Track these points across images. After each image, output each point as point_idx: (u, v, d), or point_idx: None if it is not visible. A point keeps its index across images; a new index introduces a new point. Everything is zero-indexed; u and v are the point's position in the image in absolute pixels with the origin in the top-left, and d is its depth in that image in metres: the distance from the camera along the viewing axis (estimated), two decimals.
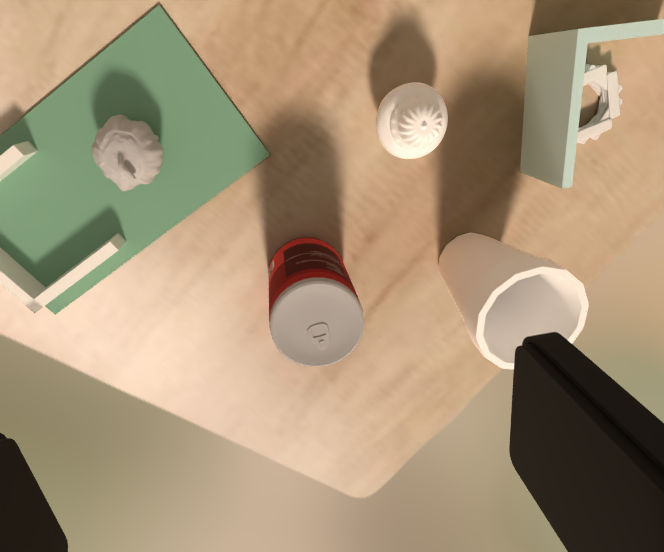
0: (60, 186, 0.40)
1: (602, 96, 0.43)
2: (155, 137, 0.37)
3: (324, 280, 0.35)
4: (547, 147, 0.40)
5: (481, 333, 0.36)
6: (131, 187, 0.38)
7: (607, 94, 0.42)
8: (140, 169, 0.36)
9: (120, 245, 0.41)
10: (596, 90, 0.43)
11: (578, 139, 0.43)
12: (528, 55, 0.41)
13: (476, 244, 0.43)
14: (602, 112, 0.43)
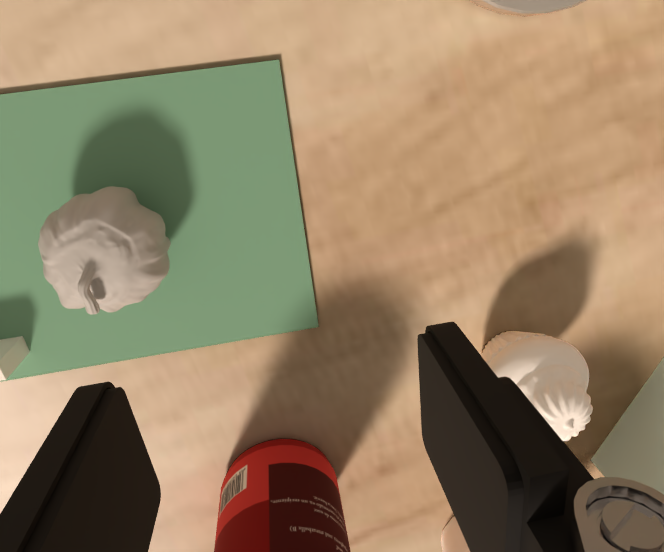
0: None
1: None
2: (166, 249, 0.21)
3: None
4: (659, 475, 0.29)
5: None
6: (82, 307, 0.21)
7: None
8: (114, 297, 0.20)
9: (14, 366, 0.23)
10: None
11: None
12: None
13: None
14: None
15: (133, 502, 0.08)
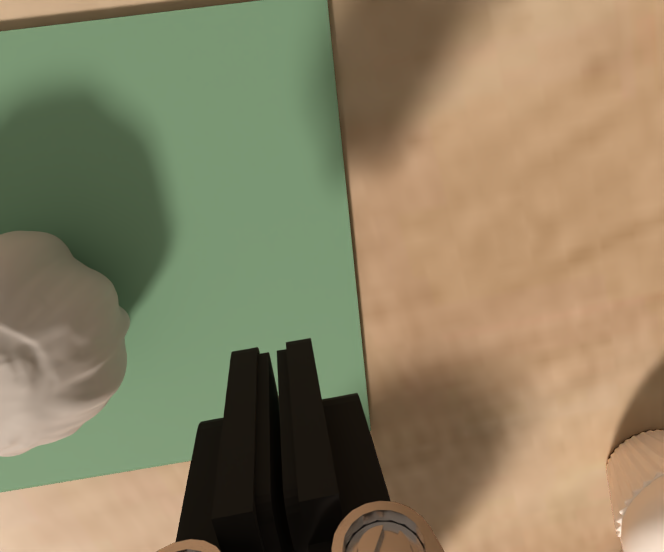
0: None
1: None
2: (118, 342, 0.12)
3: None
4: None
5: None
6: None
7: None
8: (14, 444, 0.10)
9: None
10: None
11: None
12: None
13: None
14: None
15: None
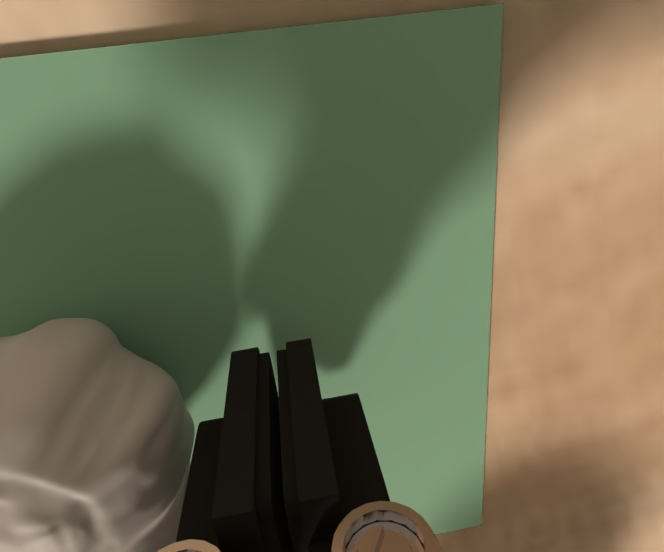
0: None
1: None
2: (187, 464, 0.09)
3: None
4: None
5: None
6: None
7: None
8: None
9: None
10: None
11: None
12: None
13: None
14: None
15: None
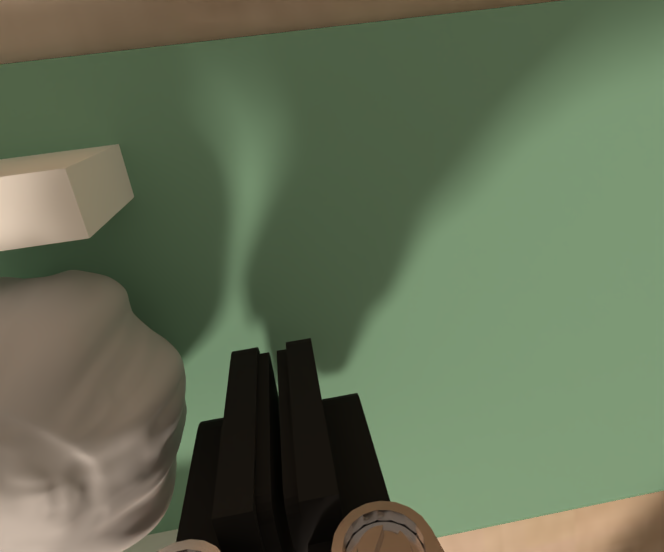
0: None
1: None
2: (179, 444, 0.08)
3: None
4: None
5: None
6: None
7: None
8: None
9: None
10: None
11: None
12: None
13: None
14: None
15: None
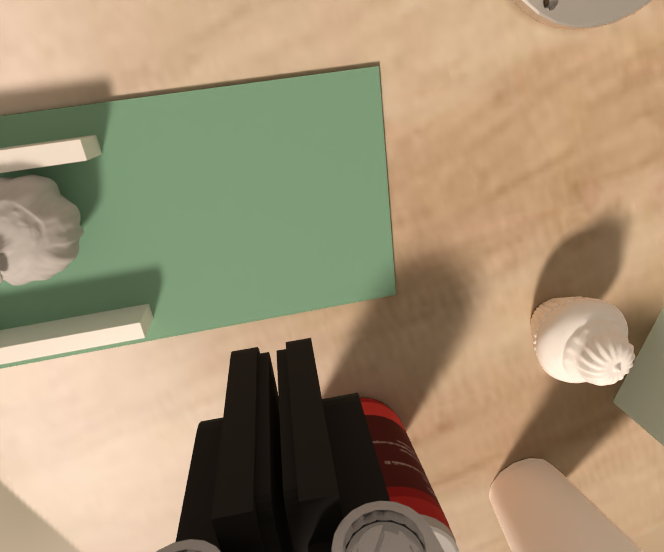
0: (104, 212, 0.26)
1: None
2: (77, 237, 0.24)
3: (438, 527, 0.24)
4: None
5: None
6: None
7: None
8: (19, 271, 0.22)
9: (147, 327, 0.27)
10: None
11: None
12: None
13: (566, 493, 0.35)
14: None
15: None
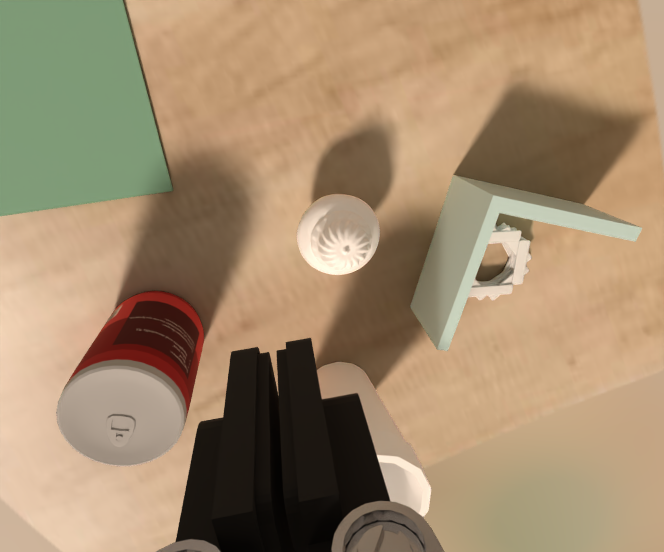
0: None
1: (511, 259, 0.40)
2: None
3: (152, 372, 0.28)
4: (437, 298, 0.36)
5: None
6: None
7: (515, 259, 0.39)
8: None
9: None
10: (507, 250, 0.40)
11: (475, 294, 0.40)
12: (447, 193, 0.37)
13: (350, 385, 0.38)
14: (506, 274, 0.40)
15: None
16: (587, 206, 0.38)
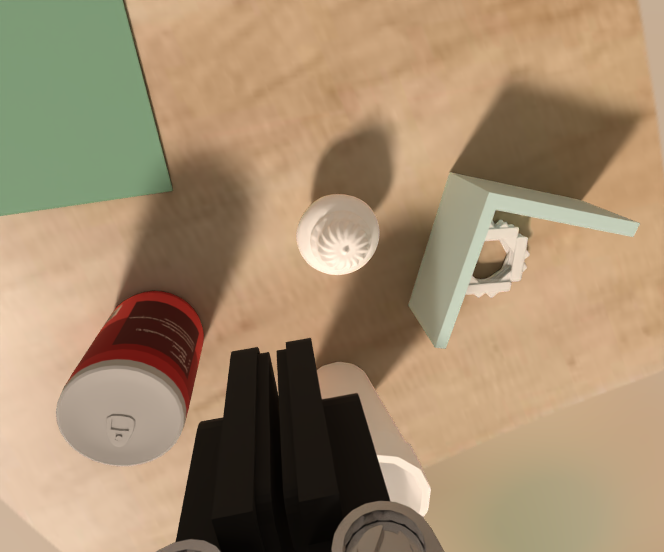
0: None
1: (509, 256, 0.39)
2: None
3: (152, 372, 0.28)
4: (434, 296, 0.36)
5: None
6: None
7: (513, 256, 0.39)
8: None
9: None
10: (504, 247, 0.40)
11: (473, 292, 0.40)
12: (444, 191, 0.37)
13: (350, 385, 0.38)
14: (504, 271, 0.40)
15: None
16: (585, 202, 0.38)
